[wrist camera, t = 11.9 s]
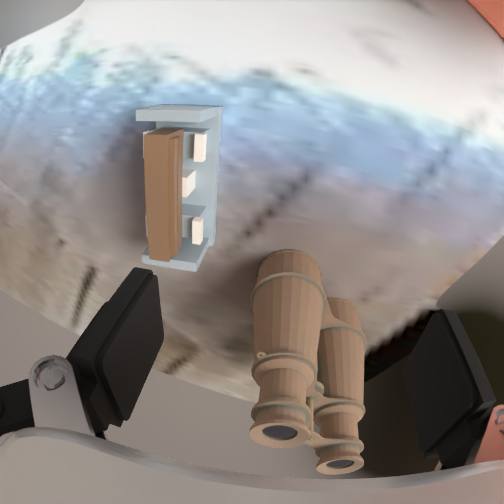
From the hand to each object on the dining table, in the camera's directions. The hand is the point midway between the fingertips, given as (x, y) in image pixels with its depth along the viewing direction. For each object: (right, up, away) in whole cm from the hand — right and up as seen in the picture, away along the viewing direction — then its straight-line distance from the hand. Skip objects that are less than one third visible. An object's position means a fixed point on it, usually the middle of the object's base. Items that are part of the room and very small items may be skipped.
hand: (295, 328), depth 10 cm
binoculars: (+8, -5, +37) cm, 38 cm away
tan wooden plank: (-11, +10, +25) cm, 29 cm away
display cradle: (-10, +12, +29) cm, 33 cm away
